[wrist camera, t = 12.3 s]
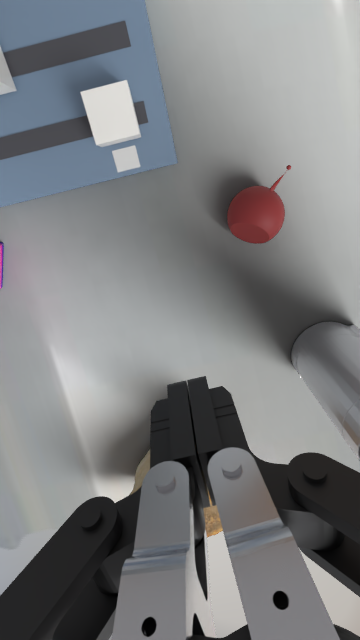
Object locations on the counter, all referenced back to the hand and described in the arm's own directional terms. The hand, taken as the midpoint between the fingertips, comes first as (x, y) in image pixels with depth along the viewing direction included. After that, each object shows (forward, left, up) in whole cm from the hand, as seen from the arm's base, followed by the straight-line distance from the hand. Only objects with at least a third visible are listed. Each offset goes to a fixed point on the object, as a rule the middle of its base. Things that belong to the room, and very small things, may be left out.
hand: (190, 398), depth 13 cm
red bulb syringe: (-11, -2, -29) cm, 31 cm away
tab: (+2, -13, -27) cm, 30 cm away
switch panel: (+7, -16, -29) cm, 34 cm away
